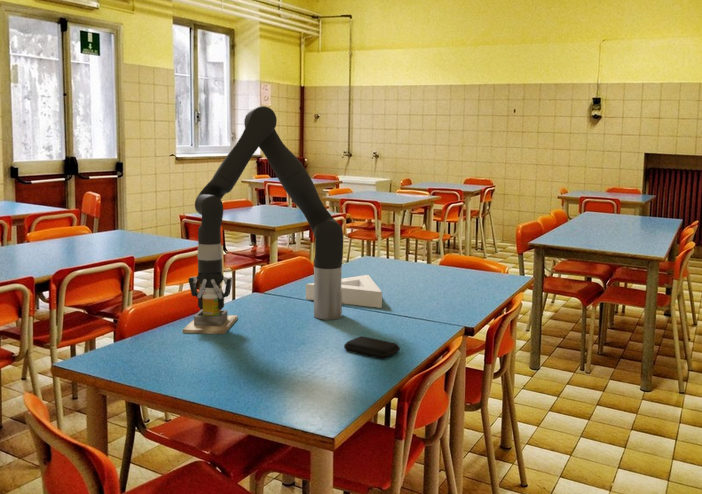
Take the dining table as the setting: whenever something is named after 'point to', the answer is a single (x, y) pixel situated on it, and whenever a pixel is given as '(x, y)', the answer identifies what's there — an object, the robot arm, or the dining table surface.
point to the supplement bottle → (210, 302)
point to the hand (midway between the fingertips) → (211, 309)
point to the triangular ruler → (355, 291)
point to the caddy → (211, 323)
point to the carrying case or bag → (372, 347)
